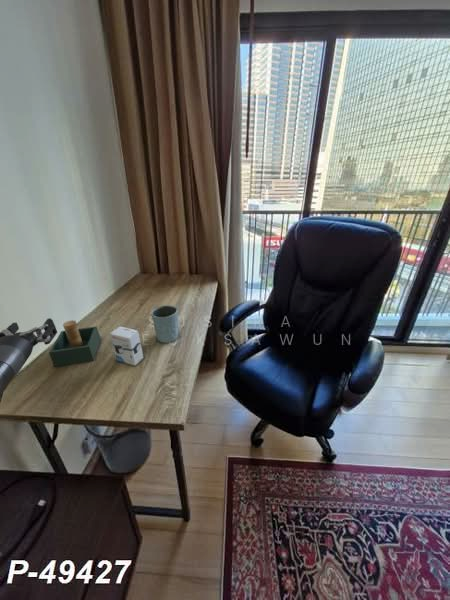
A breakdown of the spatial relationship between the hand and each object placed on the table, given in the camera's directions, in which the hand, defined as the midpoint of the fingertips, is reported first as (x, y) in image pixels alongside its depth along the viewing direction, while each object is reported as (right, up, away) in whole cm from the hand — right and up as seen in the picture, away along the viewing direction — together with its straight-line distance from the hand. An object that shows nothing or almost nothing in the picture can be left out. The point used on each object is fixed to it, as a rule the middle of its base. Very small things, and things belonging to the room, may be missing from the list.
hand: (33, 323), depth 71 cm
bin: (-1, -13, +24) cm, 27 cm away
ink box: (+20, -15, +20) cm, 32 cm away
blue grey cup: (+31, -9, +32) cm, 45 cm away
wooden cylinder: (-1, -12, +23) cm, 27 cm away
